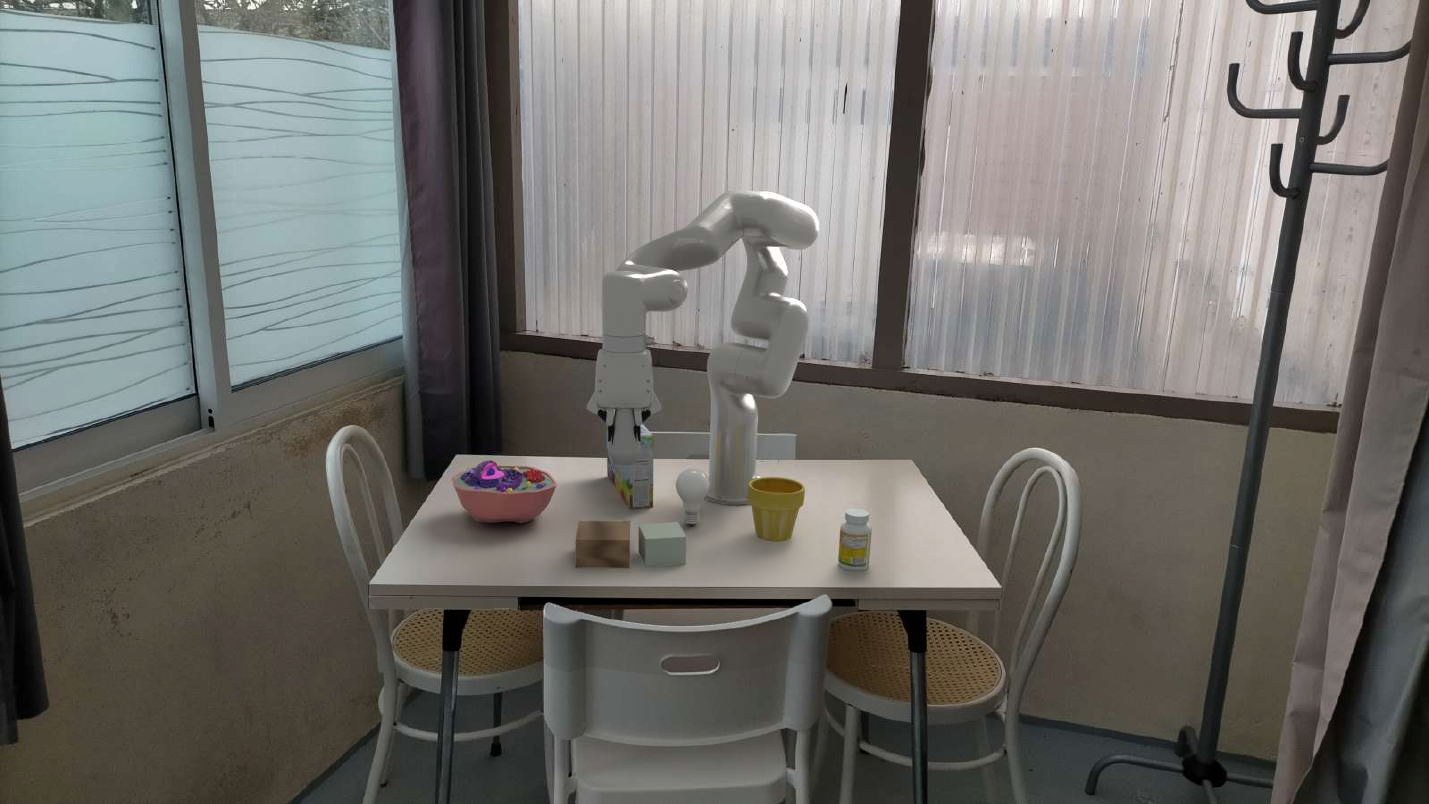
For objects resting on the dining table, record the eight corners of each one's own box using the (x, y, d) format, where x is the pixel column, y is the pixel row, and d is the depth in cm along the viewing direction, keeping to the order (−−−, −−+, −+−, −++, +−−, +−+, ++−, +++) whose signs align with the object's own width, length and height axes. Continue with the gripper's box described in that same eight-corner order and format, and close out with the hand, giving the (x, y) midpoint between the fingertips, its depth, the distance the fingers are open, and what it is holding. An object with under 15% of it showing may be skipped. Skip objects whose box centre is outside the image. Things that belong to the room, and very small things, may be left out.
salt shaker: (643, 458, 185) (644, 388, 181) (638, 468, 179) (638, 396, 176) (611, 456, 185) (611, 386, 182) (605, 466, 180) (605, 394, 176)
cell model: (528, 544, 181) (528, 483, 178) (432, 526, 188) (430, 468, 185) (573, 514, 197) (573, 457, 194) (483, 499, 203) (482, 444, 200)
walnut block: (629, 547, 181) (630, 521, 180) (629, 567, 172) (629, 540, 171) (578, 547, 180) (578, 520, 179) (575, 567, 172) (575, 539, 170)
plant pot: (788, 522, 196) (791, 474, 193) (811, 542, 186) (814, 491, 184) (738, 527, 192) (740, 478, 190) (758, 547, 183) (760, 496, 181)
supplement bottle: (858, 573, 173) (861, 520, 171) (831, 565, 176) (835, 512, 174) (874, 564, 177) (878, 512, 175) (848, 556, 180) (852, 505, 178)
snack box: (604, 477, 219) (604, 408, 216) (629, 475, 221) (630, 407, 217) (627, 510, 200) (628, 435, 196) (655, 508, 202) (656, 434, 198)
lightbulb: (669, 521, 195) (671, 465, 192) (700, 517, 197) (702, 462, 194) (682, 532, 189) (683, 475, 186) (713, 528, 191) (715, 472, 189)
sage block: (677, 548, 181) (677, 522, 180) (685, 564, 175) (686, 536, 173) (638, 551, 179) (638, 524, 178) (645, 566, 173) (645, 539, 172)
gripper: (671, 339, 181) (669, 439, 185) (577, 339, 180) (578, 439, 184) (672, 348, 174) (671, 452, 178) (575, 347, 172) (576, 452, 177)
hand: (624, 444), depth 181 cm, fingers closed on salt shaker, 3 cm apart
